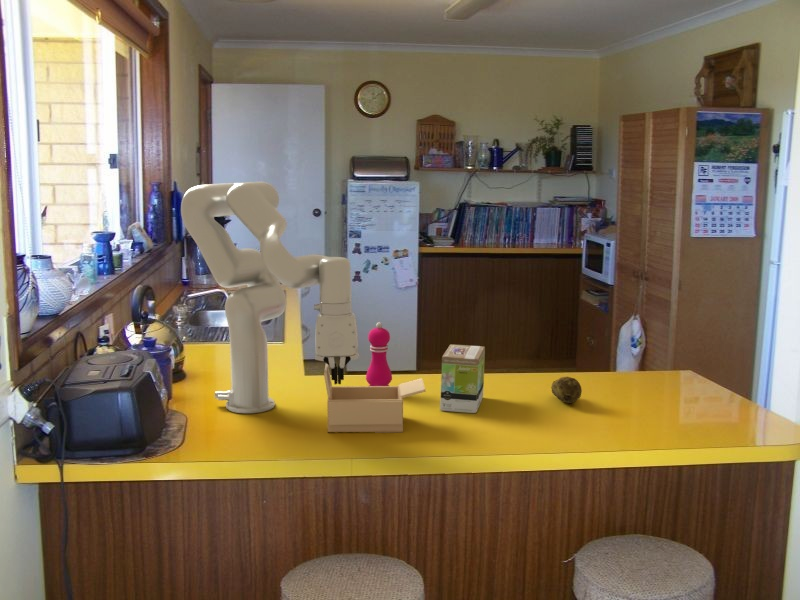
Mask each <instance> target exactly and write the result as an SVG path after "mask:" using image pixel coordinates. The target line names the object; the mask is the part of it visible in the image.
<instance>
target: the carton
mask: <svg viewBox="0 0 800 600" xmlns="http://www.w3.org/2000/svg"><path fill="white" fill-rule="evenodd" d="M326 403H327V407H326V409H327V433H328V432H375V433H403V432H404V398H401V393H400V387H399V385H389V386H369V385H365V386H362V385H360V386H359V385H357V386H356V385H355V386H353V385H352V386H351V385H350V386H348V385H347V386H346V385H345V386H332V389H331V397H329V398H328V397H327V402H326Z"/></svg>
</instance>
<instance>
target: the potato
mask: <svg viewBox="0 0 800 600" xmlns="http://www.w3.org/2000/svg"><path fill="white" fill-rule="evenodd" d="M582 391H583V389H582V386H581V384H580V382H579V381H578V379H576V378H574V377H570V376H561V377H559V378H558V379H555V380H553V382H552V384H551V392H552V394H553V395H554V396H555V397H556V398H557V399H558V400H560V401H561V402H564V403H565V404H566V403H567V404H573V403H575V402H576V401H578V400H579V399H580V398H581V396H582Z"/></svg>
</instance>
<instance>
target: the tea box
mask: <svg viewBox="0 0 800 600" xmlns="http://www.w3.org/2000/svg"><path fill="white" fill-rule="evenodd" d="M485 355H486V347H485V346H482V345H481V346H480V345H468V344H466V345H465V344H449V346H448V348H447V349H446V350H445V352H444V353H443V355H442V357H441V377H440V381H441V384H440V400H439V403H440V404H439V411H444V412H453V413H454V412H456V413H468V414H469V413H470V414H476V413H477V412H478V410H479V407H480V404H481V403H482V400H483V398H484V384H485V383H484V382H485V380H484V379H485V361H486V360H485V358H486V356H485Z"/></svg>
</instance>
